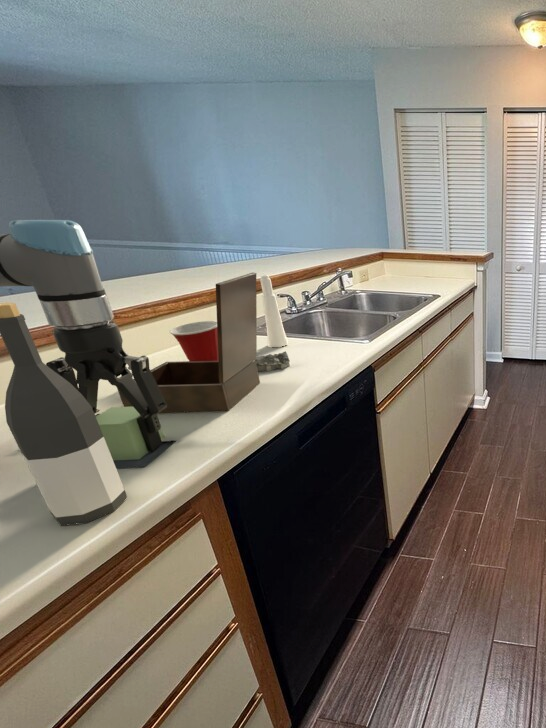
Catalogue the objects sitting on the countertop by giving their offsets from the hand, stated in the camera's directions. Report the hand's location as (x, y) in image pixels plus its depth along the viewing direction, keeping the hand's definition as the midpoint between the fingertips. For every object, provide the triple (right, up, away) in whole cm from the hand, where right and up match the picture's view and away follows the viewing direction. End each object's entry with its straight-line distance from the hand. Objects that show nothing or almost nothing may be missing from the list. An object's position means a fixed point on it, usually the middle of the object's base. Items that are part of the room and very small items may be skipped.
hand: (131, 448), depth 76 cm
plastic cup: (-15, +16, +40) cm, 45 cm away
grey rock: (+2, +15, +40) cm, 42 cm away
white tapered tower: (-7, +24, +60) cm, 65 cm away
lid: (+9, +24, +15) cm, 30 cm away
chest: (-3, +8, +20) cm, 22 cm away
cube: (0, 0, 0) cm, 0 cm away
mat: (0, -1, 0) cm, 1 cm away
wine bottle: (+7, -7, -14) cm, 17 cm away
